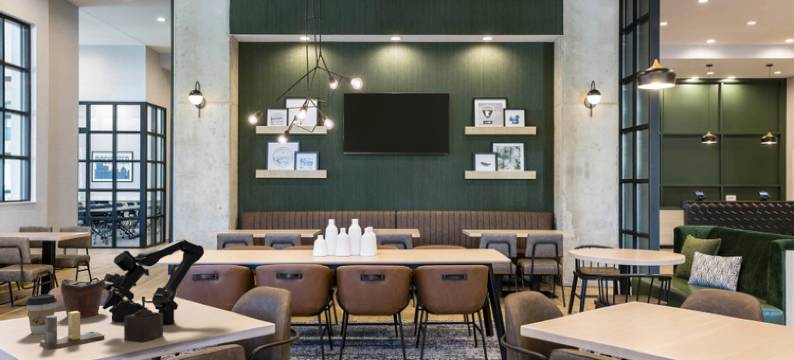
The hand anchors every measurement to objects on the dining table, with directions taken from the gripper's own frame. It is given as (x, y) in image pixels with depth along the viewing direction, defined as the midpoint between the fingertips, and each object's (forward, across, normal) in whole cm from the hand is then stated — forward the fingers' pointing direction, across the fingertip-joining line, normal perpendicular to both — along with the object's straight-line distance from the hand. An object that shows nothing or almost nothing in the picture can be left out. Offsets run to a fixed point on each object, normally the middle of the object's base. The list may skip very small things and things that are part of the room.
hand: (103, 308), depth 225 cm
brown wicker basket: (+2, -52, +14) cm, 54 cm away
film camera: (-5, -22, +22) cm, 32 cm away
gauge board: (+16, -2, 0) cm, 16 cm away
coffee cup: (+18, -29, -2) cm, 35 cm away
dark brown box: (-1, +14, +17) cm, 22 cm away
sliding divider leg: (+14, -2, -1) cm, 15 cm away
